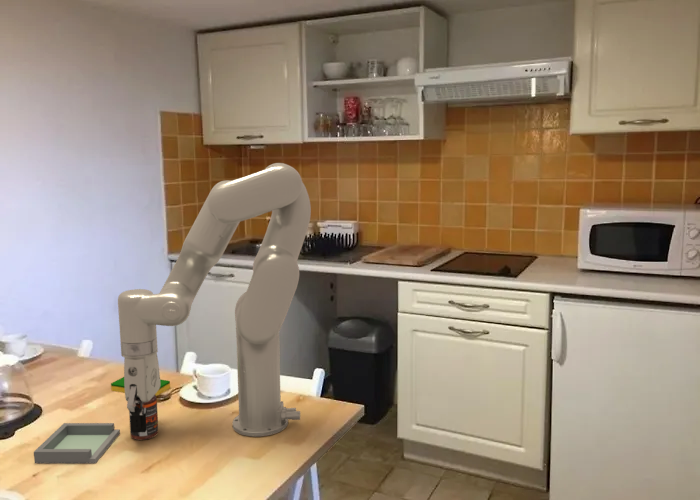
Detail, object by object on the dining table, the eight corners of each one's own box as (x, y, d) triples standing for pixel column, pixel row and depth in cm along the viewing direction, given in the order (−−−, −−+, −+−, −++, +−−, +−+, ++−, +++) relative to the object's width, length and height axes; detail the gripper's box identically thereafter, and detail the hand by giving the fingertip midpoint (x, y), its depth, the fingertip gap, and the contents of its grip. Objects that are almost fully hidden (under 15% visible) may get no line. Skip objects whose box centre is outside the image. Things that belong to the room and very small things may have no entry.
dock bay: (120, 433, 142) (119, 423, 141) (95, 463, 128) (94, 451, 128) (64, 433, 142) (63, 423, 141) (34, 463, 128) (33, 451, 128)
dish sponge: (128, 382, 173) (128, 374, 173) (171, 389, 168) (170, 380, 168) (110, 392, 167) (109, 383, 166) (154, 399, 162) (153, 390, 162)
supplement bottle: (150, 442, 137) (147, 392, 135) (125, 440, 138) (121, 390, 137) (163, 430, 143) (160, 382, 141) (139, 428, 144) (136, 380, 142)
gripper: (143, 359, 129) (148, 442, 132) (168, 334, 146) (172, 408, 149) (106, 360, 129) (112, 443, 132) (135, 335, 146) (140, 408, 149)
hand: (144, 424), depth 140 cm, fingers closed on supplement bottle, 6 cm apart
